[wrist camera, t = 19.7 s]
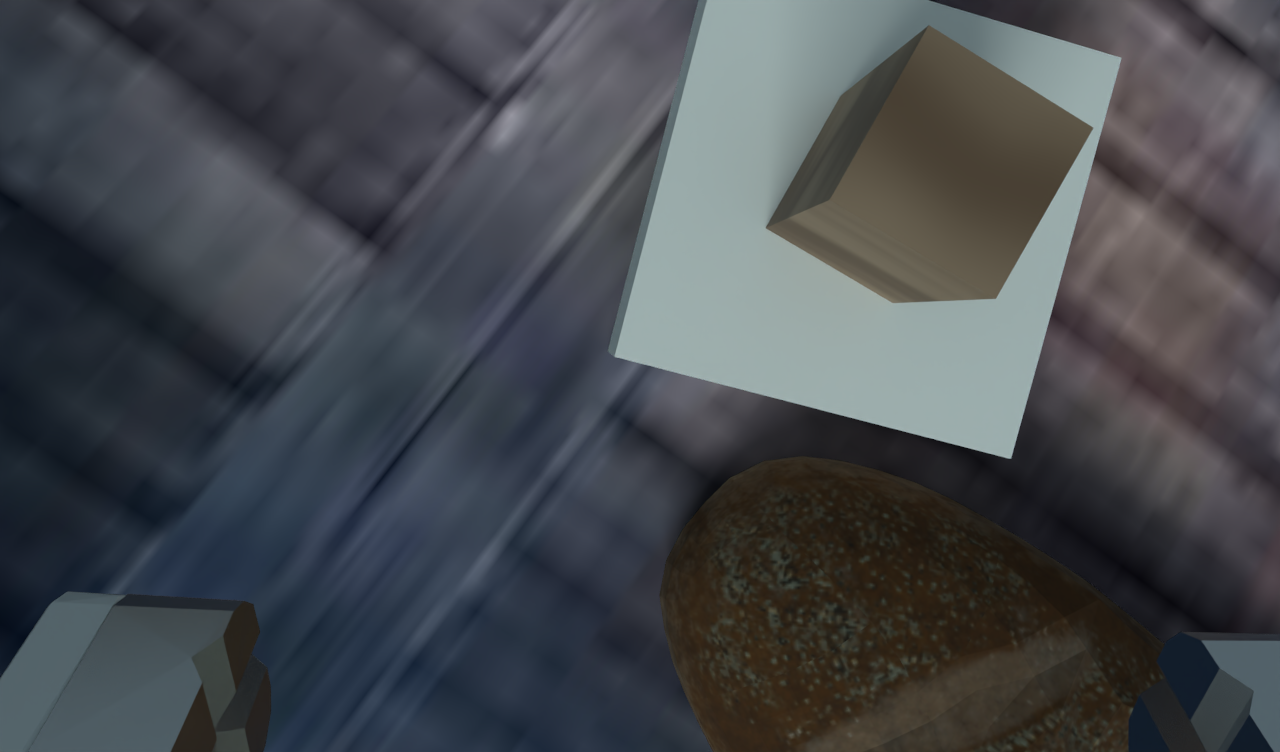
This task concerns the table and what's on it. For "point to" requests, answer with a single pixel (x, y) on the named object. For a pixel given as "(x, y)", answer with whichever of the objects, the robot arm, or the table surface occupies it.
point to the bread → (888, 624)
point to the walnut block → (930, 175)
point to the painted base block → (805, 286)
